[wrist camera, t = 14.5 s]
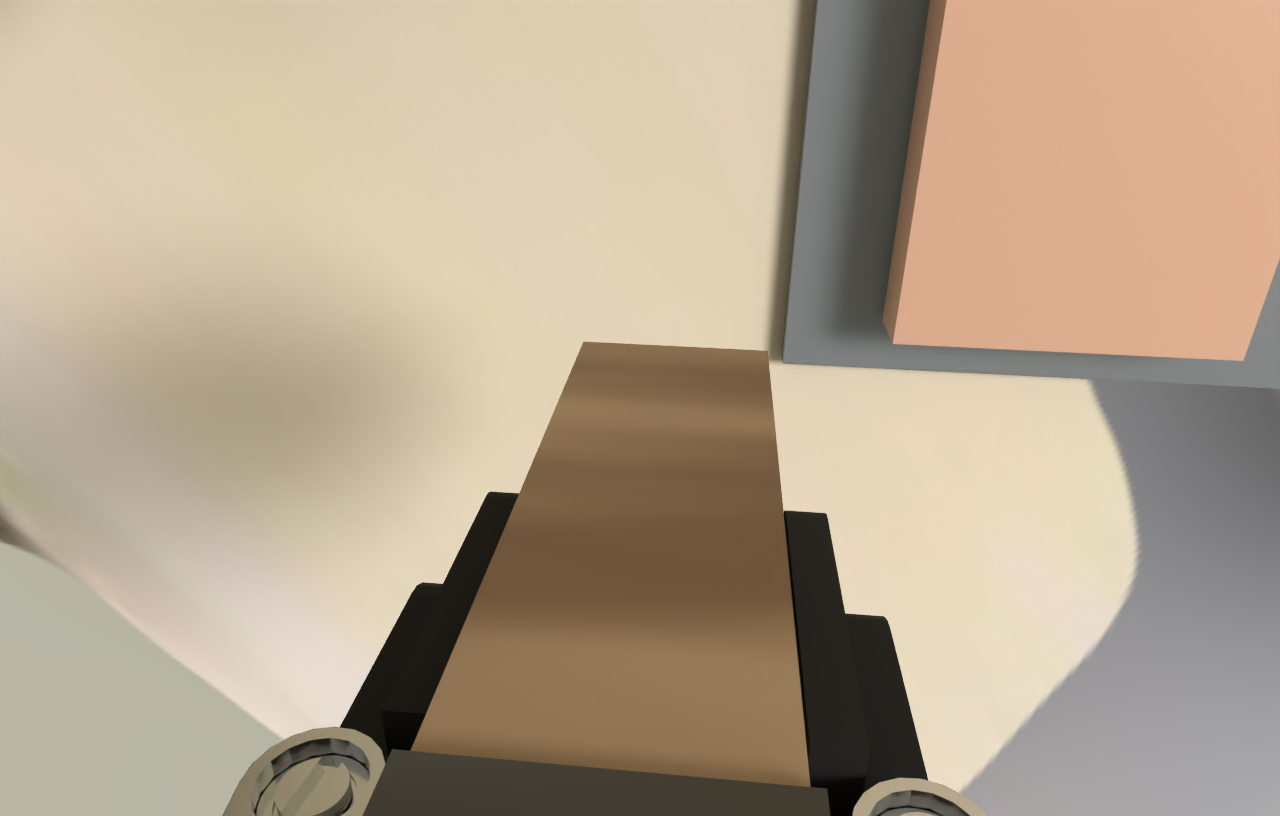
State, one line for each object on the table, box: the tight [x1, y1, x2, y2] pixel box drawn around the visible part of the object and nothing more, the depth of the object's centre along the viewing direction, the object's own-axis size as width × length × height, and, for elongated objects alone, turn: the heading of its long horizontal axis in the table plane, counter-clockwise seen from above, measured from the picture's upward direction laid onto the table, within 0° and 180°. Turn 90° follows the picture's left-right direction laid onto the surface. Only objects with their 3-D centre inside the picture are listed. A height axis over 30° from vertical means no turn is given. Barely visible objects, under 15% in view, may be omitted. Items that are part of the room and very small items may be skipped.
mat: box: [782, 0, 1280, 389], centre depth 25 cm, size 16×16×1 cm
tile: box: [882, 0, 1280, 361], centre depth 24 cm, size 2×10×11 cm
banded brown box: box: [362, 342, 830, 816], centre depth 9 cm, size 5×3×14 cm
